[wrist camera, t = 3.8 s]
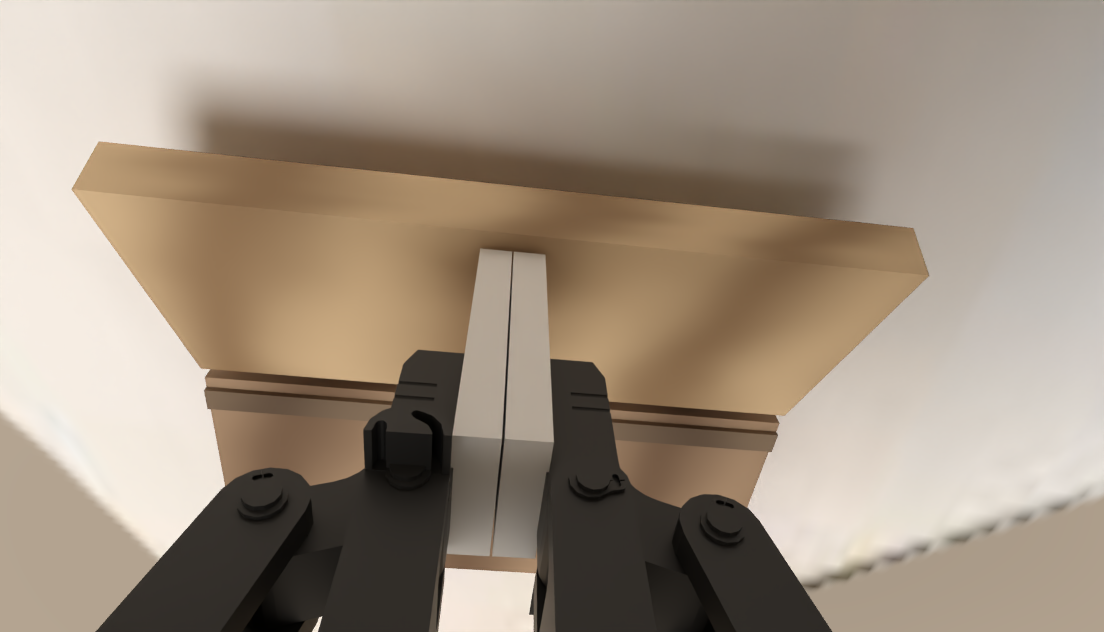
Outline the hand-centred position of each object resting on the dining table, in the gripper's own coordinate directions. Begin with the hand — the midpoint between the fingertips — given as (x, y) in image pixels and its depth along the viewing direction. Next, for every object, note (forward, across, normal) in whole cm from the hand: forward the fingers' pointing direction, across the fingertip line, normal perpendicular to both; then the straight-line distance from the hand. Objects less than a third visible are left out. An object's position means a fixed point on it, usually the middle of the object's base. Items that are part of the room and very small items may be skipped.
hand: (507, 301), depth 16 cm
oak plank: (+3, 0, +1) cm, 4 cm away
